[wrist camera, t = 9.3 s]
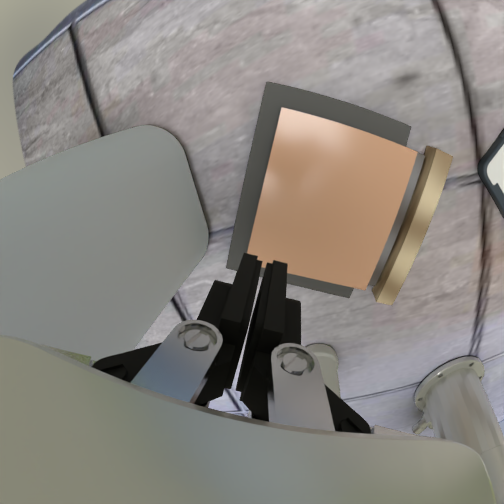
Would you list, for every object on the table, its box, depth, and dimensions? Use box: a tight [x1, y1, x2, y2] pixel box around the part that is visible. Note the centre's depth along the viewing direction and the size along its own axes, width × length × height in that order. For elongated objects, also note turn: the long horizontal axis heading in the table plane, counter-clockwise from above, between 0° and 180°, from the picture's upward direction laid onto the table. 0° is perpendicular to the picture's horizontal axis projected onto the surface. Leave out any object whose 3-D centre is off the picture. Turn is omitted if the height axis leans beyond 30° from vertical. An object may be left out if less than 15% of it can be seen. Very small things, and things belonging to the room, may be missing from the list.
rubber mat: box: [226, 82, 411, 298], centre depth 26 cm, size 18×13×1 cm
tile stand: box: [368, 146, 453, 305], centre depth 25 cm, size 16×3×2 cm, turn 168°
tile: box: [247, 107, 418, 290], centre depth 25 cm, size 1×14×12 cm
